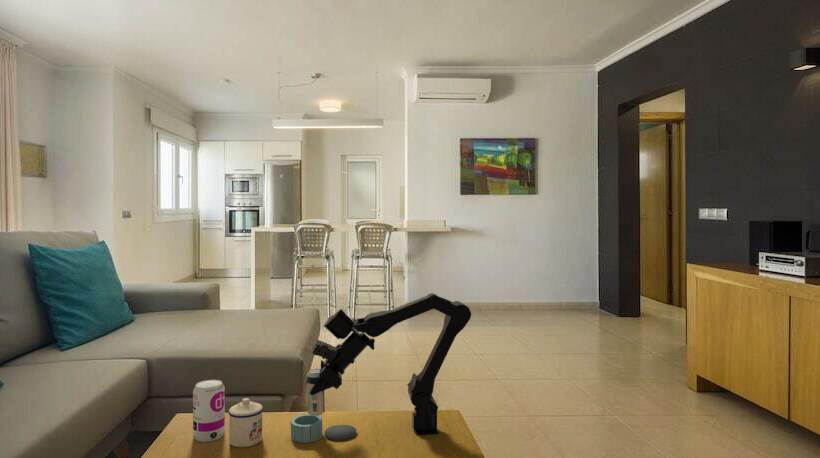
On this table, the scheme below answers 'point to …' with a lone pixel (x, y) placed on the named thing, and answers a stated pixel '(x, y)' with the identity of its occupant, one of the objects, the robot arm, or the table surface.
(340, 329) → the robot arm
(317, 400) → the beer can
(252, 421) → the teacup with lid
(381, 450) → the table surface
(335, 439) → the rubber mat
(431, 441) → the table surface
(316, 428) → the plastic tub
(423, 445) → the table surface
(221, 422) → the supplement can
